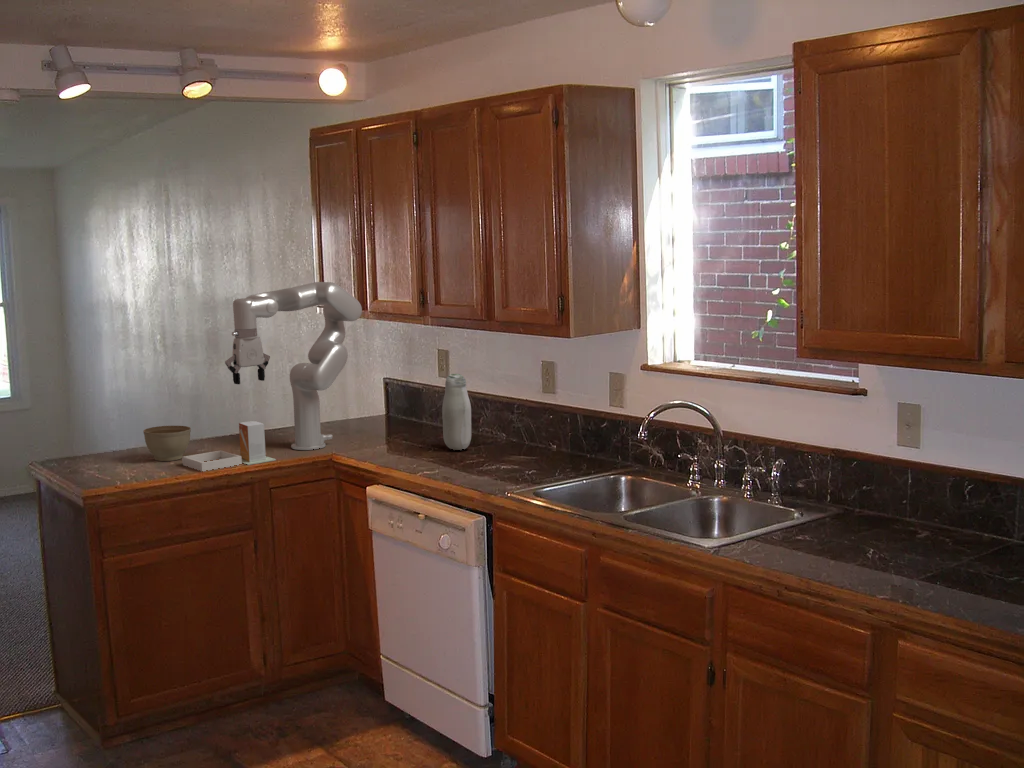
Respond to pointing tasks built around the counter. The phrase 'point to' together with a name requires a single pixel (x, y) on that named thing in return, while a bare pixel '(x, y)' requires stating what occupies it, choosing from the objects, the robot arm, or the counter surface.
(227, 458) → the bin
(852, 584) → the counter surface
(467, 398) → the glass bottle
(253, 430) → the small box
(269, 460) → the pad
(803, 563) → the counter surface
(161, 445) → the planter bowl
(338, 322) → the robot arm
